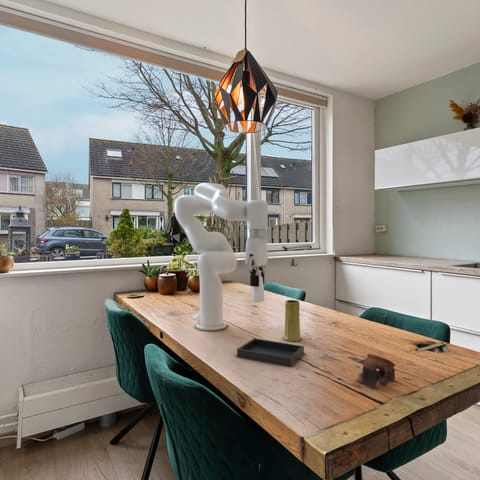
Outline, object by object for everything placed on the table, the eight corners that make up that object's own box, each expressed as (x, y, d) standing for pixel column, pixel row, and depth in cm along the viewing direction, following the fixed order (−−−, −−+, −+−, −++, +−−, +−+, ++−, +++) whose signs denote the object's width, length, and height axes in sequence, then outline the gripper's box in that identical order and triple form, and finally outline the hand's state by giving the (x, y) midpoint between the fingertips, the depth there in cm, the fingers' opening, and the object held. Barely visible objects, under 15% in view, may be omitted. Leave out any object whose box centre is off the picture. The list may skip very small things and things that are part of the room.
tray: (237, 356, 117) (237, 348, 117) (254, 345, 129) (254, 338, 128) (290, 366, 109) (290, 358, 109) (304, 353, 120) (304, 346, 120)
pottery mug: (350, 378, 102) (359, 350, 104) (378, 391, 103) (387, 363, 105) (372, 385, 90) (382, 354, 92) (405, 400, 91) (413, 369, 93)
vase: (299, 342, 132) (300, 303, 131) (283, 340, 133) (283, 302, 132) (300, 336, 138) (301, 299, 137) (284, 335, 139) (285, 299, 138)
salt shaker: (260, 302, 127) (260, 271, 126) (247, 300, 130) (247, 270, 129) (267, 299, 131) (267, 269, 131) (254, 298, 134) (254, 268, 134)
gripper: (257, 234, 139) (257, 281, 139) (237, 235, 124) (237, 288, 124) (275, 234, 135) (275, 282, 136) (257, 235, 120) (257, 289, 121)
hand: (257, 284), depth 130 cm, fingers closed on salt shaker, 4 cm apart
